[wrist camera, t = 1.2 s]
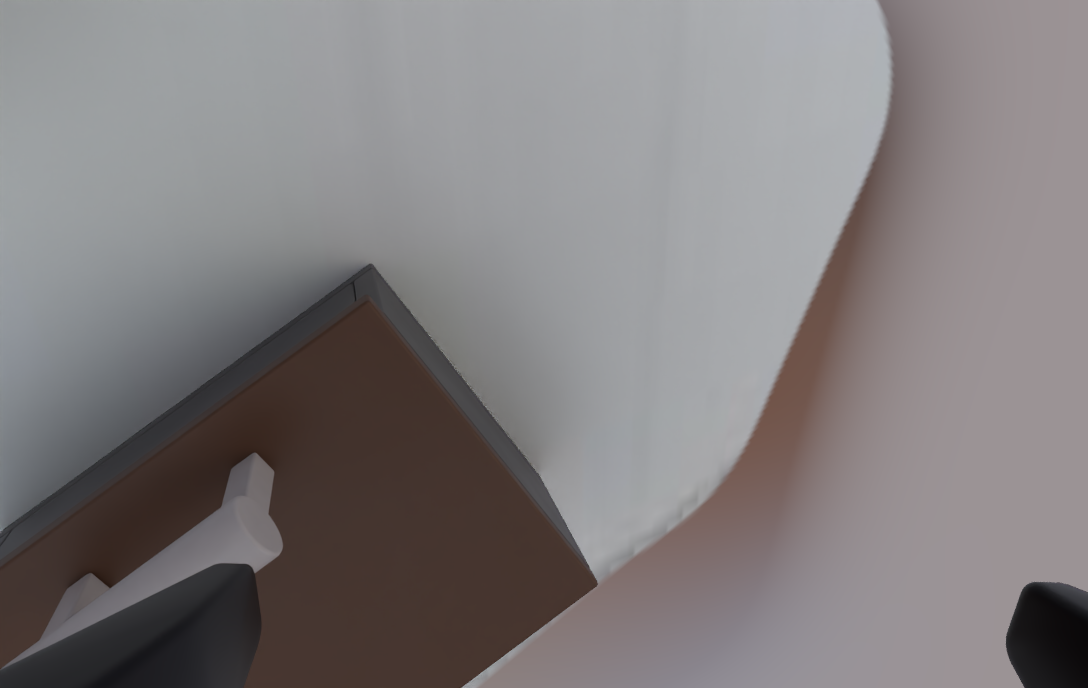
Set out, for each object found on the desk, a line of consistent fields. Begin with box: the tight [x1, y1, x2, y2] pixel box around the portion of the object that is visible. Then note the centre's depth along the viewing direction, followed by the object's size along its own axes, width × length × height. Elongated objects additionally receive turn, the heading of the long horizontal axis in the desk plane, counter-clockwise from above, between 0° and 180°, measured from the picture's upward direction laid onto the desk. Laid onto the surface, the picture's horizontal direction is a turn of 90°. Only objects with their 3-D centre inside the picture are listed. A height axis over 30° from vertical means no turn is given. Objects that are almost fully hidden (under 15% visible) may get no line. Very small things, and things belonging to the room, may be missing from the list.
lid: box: [0, 295, 598, 688], centre depth 18 cm, size 10×13×4 cm
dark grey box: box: [0, 264, 589, 567], centre depth 22 cm, size 9×13×6 cm
